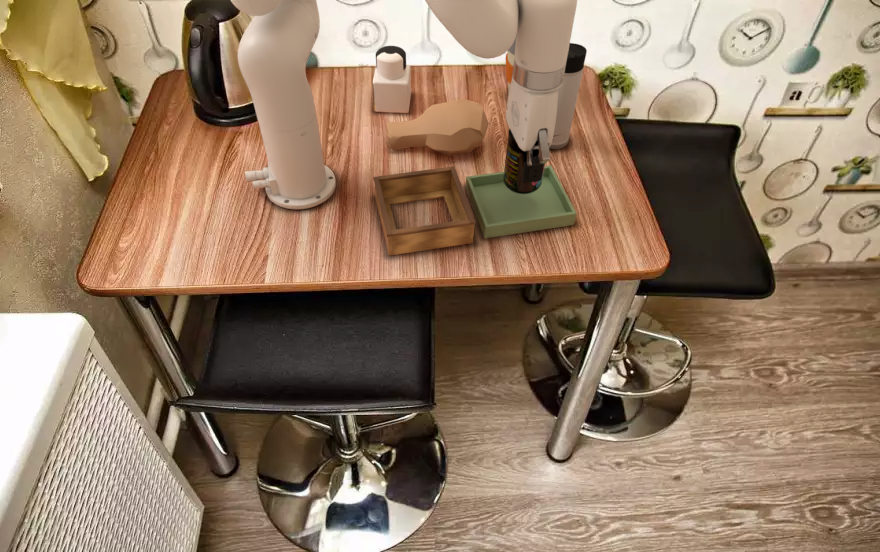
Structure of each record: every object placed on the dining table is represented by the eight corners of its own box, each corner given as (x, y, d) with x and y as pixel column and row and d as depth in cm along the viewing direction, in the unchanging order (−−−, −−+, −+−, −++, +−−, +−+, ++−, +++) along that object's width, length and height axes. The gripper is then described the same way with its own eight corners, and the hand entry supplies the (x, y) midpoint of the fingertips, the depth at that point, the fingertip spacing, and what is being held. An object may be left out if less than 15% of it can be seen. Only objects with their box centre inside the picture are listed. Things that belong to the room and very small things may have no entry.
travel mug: (551, 154, 122) (569, 60, 106) (530, 137, 125) (544, 43, 110) (575, 144, 124) (596, 50, 109) (554, 127, 127) (571, 34, 112)
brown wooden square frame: (388, 256, 103) (386, 235, 99) (374, 198, 112) (373, 176, 109) (473, 243, 105) (475, 222, 102) (453, 187, 115) (454, 165, 111)
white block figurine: (378, 93, 134) (374, 40, 125) (411, 94, 134) (410, 42, 125) (374, 112, 130) (370, 59, 121) (408, 113, 130) (407, 61, 121)
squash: (492, 160, 120) (491, 127, 113) (390, 172, 122) (382, 141, 114) (486, 119, 126) (485, 85, 118) (389, 131, 127) (381, 98, 119)
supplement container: (528, 201, 104) (536, 151, 97) (494, 185, 107) (500, 135, 99) (548, 180, 108) (558, 131, 100) (516, 165, 111) (523, 115, 103)
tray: (484, 238, 106) (485, 226, 104) (465, 188, 115) (466, 176, 113) (574, 225, 109) (576, 213, 107) (549, 176, 117) (551, 165, 115)
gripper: (497, 43, 96) (489, 138, 110) (532, 107, 85) (518, 204, 99) (543, 39, 98) (529, 133, 111) (584, 101, 86) (563, 197, 100)
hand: (524, 166), depth 105 cm, fingers closed on supplement container, 6 cm apart
